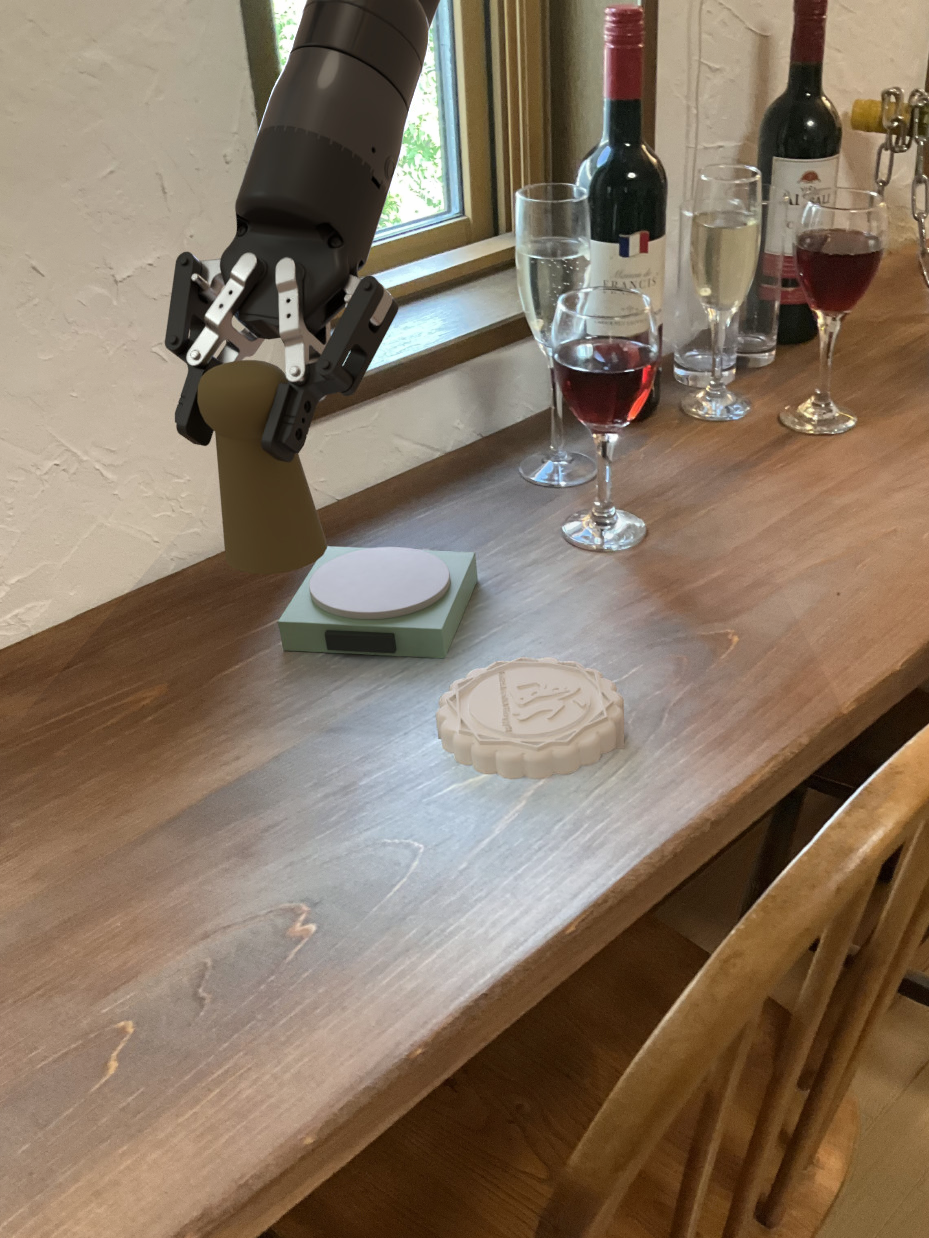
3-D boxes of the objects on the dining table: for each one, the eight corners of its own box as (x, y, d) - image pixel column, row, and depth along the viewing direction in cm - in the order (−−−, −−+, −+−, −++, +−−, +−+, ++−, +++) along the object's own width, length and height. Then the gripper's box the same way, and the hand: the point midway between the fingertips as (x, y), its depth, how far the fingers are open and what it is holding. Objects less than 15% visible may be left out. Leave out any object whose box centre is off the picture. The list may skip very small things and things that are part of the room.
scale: (280, 654, 92) (273, 617, 90) (330, 573, 102) (324, 538, 100) (443, 662, 91) (439, 625, 89) (477, 579, 101) (474, 544, 99)
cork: (217, 539, 78) (175, 358, 71) (315, 521, 79) (283, 342, 73) (234, 582, 73) (191, 393, 66) (337, 562, 75) (306, 376, 68)
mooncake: (637, 790, 79) (637, 743, 76) (443, 809, 77) (437, 761, 75) (611, 687, 88) (610, 642, 86) (437, 702, 87) (431, 656, 84)
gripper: (180, 111, 70) (86, 399, 70) (401, 129, 66) (303, 438, 65) (258, 194, 78) (173, 456, 77) (462, 216, 73) (374, 495, 72)
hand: (233, 446), depth 71 cm, fingers closed on cork, 5 cm apart
